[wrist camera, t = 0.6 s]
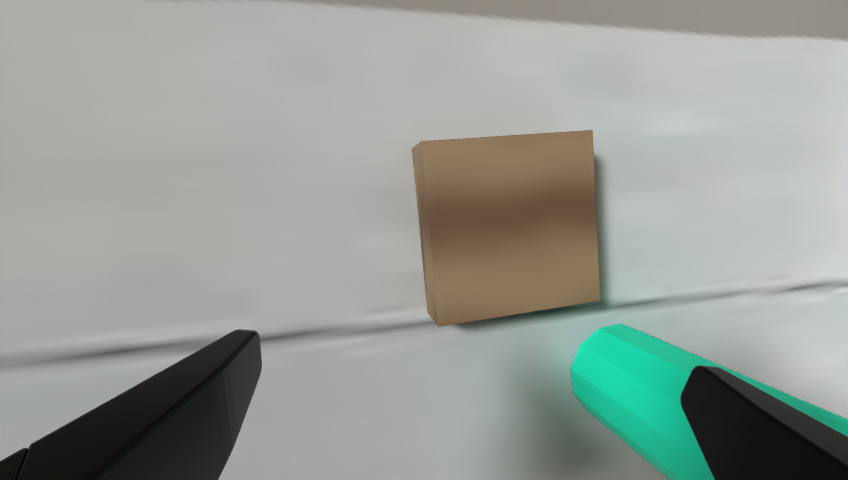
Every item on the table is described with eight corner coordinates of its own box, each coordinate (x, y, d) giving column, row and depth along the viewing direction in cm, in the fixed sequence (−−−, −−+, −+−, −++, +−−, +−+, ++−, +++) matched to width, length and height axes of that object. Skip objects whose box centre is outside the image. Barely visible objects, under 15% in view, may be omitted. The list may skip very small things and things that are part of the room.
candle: (661, 326, 25) (939, 432, 13) (646, 416, 26) (905, 596, 14) (577, 320, 24) (805, 433, 12) (563, 415, 24) (771, 613, 13)
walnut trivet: (573, 290, 24) (600, 300, 21) (427, 313, 22) (438, 326, 19) (565, 138, 23) (592, 130, 20) (412, 148, 21) (421, 141, 18)
